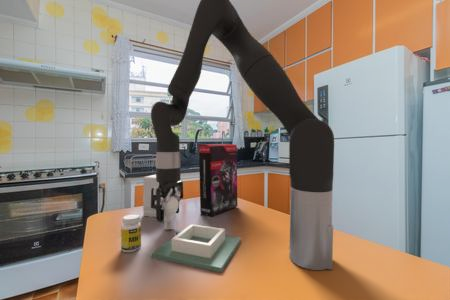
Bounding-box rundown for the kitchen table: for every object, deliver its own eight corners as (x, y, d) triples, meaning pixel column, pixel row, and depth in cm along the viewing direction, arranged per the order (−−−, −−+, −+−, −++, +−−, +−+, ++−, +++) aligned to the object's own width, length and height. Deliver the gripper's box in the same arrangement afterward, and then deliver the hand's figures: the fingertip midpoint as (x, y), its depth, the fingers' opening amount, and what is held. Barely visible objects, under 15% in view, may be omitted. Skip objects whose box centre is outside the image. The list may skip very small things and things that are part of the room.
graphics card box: (211, 217, 81) (211, 144, 80) (198, 213, 86) (198, 144, 85) (237, 207, 95) (238, 144, 94) (225, 204, 99) (225, 143, 98)
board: (241, 241, 62) (241, 227, 62) (221, 272, 47) (221, 254, 47) (185, 232, 68) (185, 219, 68) (151, 257, 53) (151, 241, 53)
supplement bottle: (128, 254, 54) (128, 221, 54) (117, 249, 57) (117, 217, 57) (144, 246, 59) (144, 215, 58) (133, 242, 61) (133, 212, 61)
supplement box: (163, 219, 80) (162, 178, 79) (142, 216, 83) (142, 176, 82) (176, 211, 88) (176, 174, 88) (157, 209, 91) (157, 173, 91)
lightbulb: (173, 234, 67) (173, 198, 66) (154, 232, 68) (154, 197, 67) (181, 226, 73) (181, 193, 72) (164, 225, 74) (164, 192, 74)
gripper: (165, 169, 62) (165, 226, 62) (189, 164, 75) (189, 211, 76) (143, 168, 64) (143, 223, 65) (170, 163, 78) (171, 209, 78)
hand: (168, 216), depth 70 cm, fingers open, 8 cm apart
